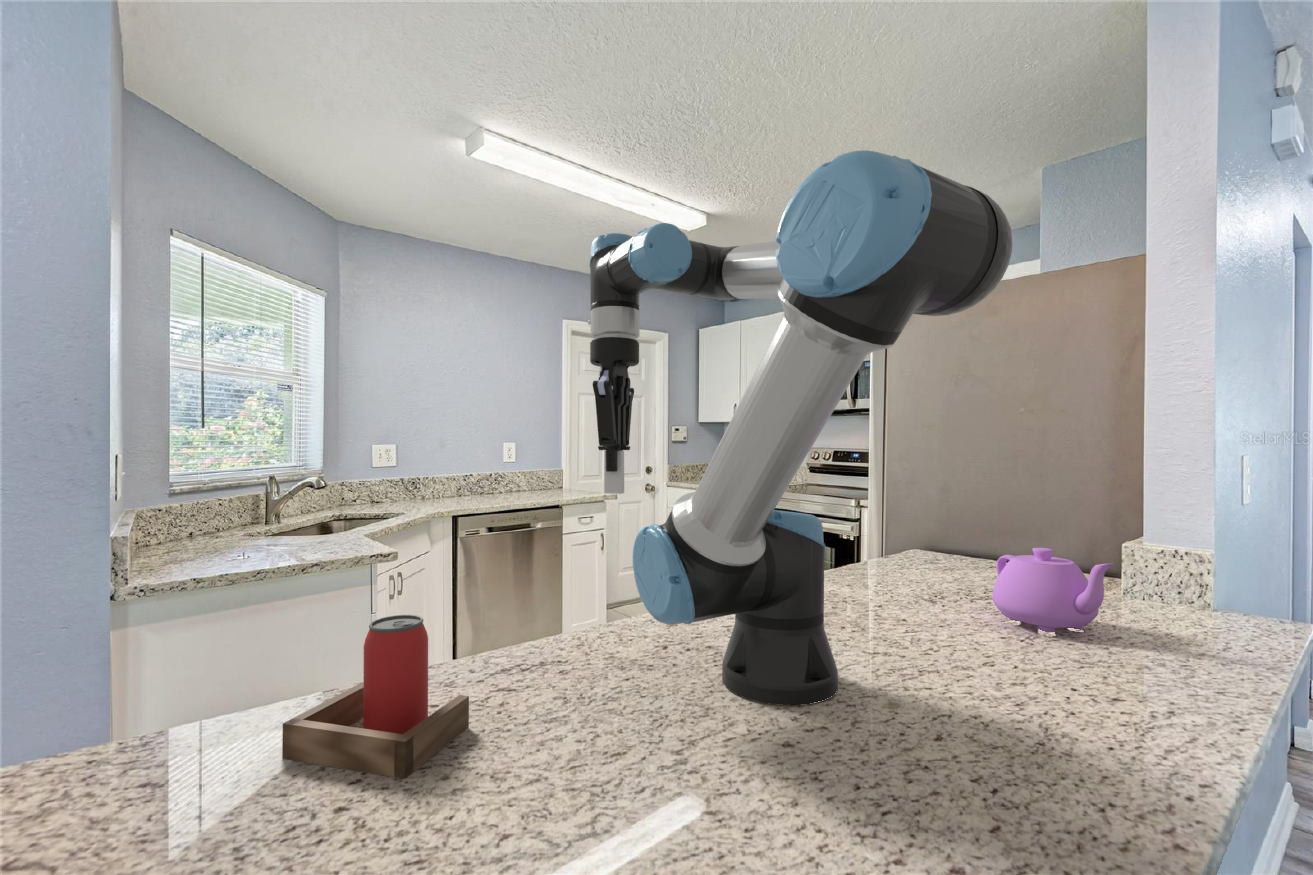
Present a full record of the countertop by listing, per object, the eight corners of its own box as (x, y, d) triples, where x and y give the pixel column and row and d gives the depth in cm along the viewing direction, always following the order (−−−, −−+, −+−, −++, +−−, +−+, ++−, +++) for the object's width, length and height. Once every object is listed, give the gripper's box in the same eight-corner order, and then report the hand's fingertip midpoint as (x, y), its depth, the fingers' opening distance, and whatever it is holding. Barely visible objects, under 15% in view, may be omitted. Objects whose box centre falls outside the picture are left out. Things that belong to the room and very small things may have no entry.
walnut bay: (468, 727, 67) (468, 696, 67) (404, 779, 57) (405, 741, 57) (360, 712, 71) (361, 682, 71) (282, 758, 61) (282, 723, 61)
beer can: (405, 747, 63) (405, 632, 63) (349, 741, 64) (349, 628, 64) (439, 719, 69) (439, 614, 69) (388, 714, 71) (388, 611, 71)
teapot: (1148, 643, 97) (1147, 558, 97) (1077, 653, 92) (1076, 563, 92) (1026, 608, 118) (1025, 538, 118) (963, 615, 113) (962, 541, 113)
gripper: (606, 347, 100) (605, 489, 99) (575, 332, 87) (574, 496, 87) (649, 345, 98) (649, 490, 97) (624, 330, 85) (624, 497, 85)
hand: (614, 493), depth 92 cm, fingers closed
